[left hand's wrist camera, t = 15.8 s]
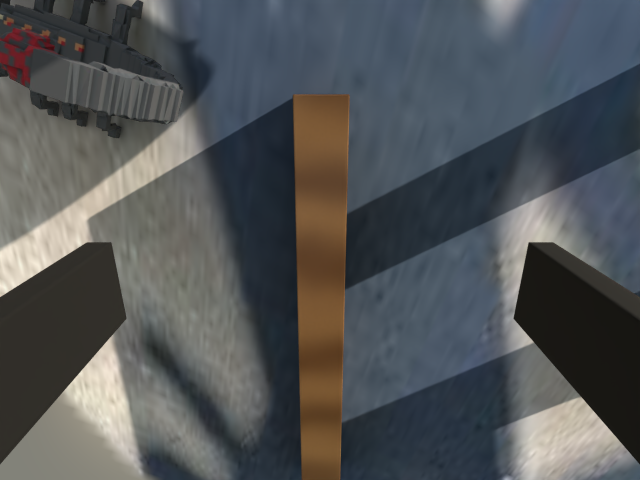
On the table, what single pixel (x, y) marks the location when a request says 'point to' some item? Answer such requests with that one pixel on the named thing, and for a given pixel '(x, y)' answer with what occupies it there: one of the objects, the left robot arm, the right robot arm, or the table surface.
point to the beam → (321, 275)
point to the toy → (84, 65)
